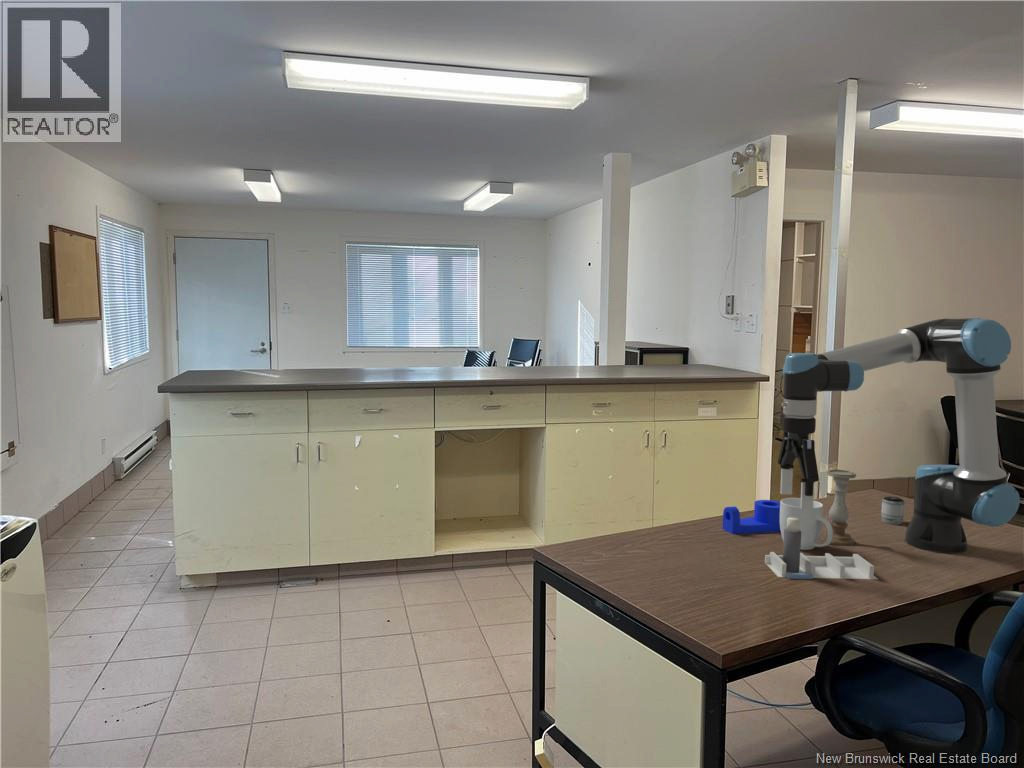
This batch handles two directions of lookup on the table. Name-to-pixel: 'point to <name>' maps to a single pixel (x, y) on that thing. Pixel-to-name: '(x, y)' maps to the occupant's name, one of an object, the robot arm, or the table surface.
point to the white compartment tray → (823, 567)
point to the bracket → (753, 518)
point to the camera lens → (892, 510)
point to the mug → (805, 522)
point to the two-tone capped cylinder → (792, 545)
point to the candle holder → (840, 509)
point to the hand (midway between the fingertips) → (796, 501)
